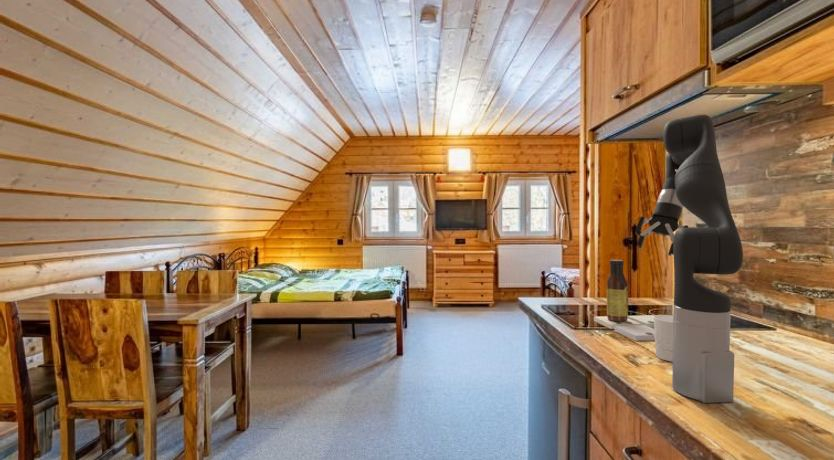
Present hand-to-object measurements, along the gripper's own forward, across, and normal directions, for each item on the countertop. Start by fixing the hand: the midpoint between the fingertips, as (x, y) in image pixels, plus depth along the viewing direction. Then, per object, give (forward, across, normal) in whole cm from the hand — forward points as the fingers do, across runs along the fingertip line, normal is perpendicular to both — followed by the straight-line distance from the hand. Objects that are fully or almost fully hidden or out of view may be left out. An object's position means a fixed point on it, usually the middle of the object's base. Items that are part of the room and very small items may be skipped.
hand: (654, 251), depth 128 cm
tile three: (+22, +4, +10) cm, 25 cm away
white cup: (+31, +13, -23) cm, 41 cm away
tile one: (+27, +4, -6) cm, 28 cm away
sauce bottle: (+25, -4, +2) cm, 26 cm away
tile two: (+26, -4, +3) cm, 27 cm away
